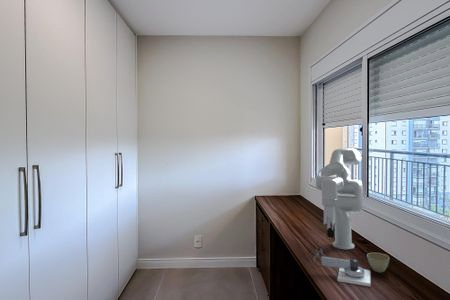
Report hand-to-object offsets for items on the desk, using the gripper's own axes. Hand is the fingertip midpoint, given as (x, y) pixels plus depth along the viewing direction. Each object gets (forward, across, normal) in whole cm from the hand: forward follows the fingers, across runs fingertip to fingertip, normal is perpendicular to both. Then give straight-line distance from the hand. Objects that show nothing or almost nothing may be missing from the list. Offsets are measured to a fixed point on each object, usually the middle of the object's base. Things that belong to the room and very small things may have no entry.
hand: (330, 236), depth 149 cm
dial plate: (+17, +6, +11) cm, 21 cm away
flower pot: (+17, -6, +22) cm, 28 cm away
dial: (+15, +6, +6) cm, 17 cm away
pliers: (+17, -14, -9) cm, 24 cm away
